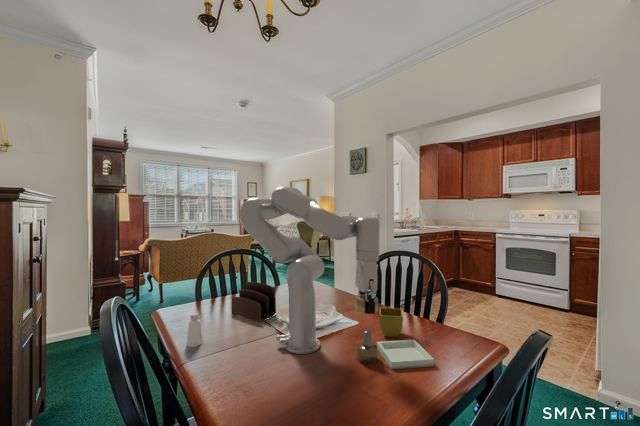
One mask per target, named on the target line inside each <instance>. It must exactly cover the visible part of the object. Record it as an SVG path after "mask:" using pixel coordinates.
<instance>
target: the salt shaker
mask: <svg viewBox="0 0 640 426" xmlns="http://www.w3.org/2000/svg"><path fill="white" fill-rule="evenodd" d="M189 317H190V320H189V321H188V327H187V336H186V346H188V348H195V346H196V347H199V346H201V345H202V342H203V334H202V327H201V326H202V325H201V320H200V319H199V313H198V312H193V313H191V314H190V316H189ZM198 345H199V346H198Z"/></svg>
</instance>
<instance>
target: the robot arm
mask: <svg viewBox="0 0 640 426" xmlns="http://www.w3.org/2000/svg"><path fill="white" fill-rule="evenodd" d="M287 214H289V215H290V216H293V217H295V218H297V219H299V220H300V221H303V222H304V223H305V224H306V225H308V227H310V228H312V229H313V230H314V231H317V232H318V233H320V234H322V235H325V236H326V237H328V238H330V239H333V240H335V241H344V240H347V239H351V238H355V260H356V265H355V278H354V279H355V283H354V284H355V286H356V288H358V295H359V294H365V296H366V301H365V313H364V314H365V315H374V314H375V313H376V312H375V296H376V295H377V291H378V264H377V263H378V261H380V227H381V226H380V220H379V219H378V218H376V217H372V216H371V217H369V216H367V217H366V216H365V217H363V216H362V217H357V216H352V215H350V216H349V215H345V216H344V215H340V216H339V215H337V214H334V213H332V212H331V211H328V210H326V209H324V208H323V207H321V206H320V205H319V204H318V201H317V200H316V199H314V198H312V197H311V196H308V195H305V194H303V193H302V191H301V190H299V189H298V188H296V187H289V186H279V187H277V188H275V189H274V190H273V192H272V193H271V196H270V198H269V197H267V198H266V197H252V198H249V199H246V200H245V201H244V202H243V203H242V204H241V207H240V211H239V218H240V221H241V222H240V223H241V224H242V227H243V228H244V230H245V231H246V233H248V234H249V235H250V236H251V238H253V239H254V240H255V241H256V242H257V243H258V245H260V247H261V248H262V249H263V250H264V251H265V252H266V253H267V254H268V255H269V256H270V257H271V258H272V259H273V260H274V261H275V262H276V263H278V264H281V265H283V264H287V263H289V262H290V263H289V265H288V267H287V269H286V281H287V288H288V331H287V333H285V334H277V335H276V342H277V341H278V342H279V344H284V348H285V350H286V351H287V352H289V353H291V354H296V355H306V354H311V353H314V352H316V351H317V350H319V348H320V346H321V341H320V340H319V338H317V337H316V336H317V335H316V331H317V330H316V325H317V324H316V311H317V310H316V304H317V303H316V302H317V301H316V292H315V286H314V281H315V280H317V279H319V278H320V277H322V276H323V274H324V272H325V264H324V261H323V259H322V258H321V257H320V255H318V253H317V252H316V251H315V250H314V249H312V248H311V246H309V244H307V242H306V241H304V240H303V239H302V238H301V237H298V236H295V235H289V236H285V235H284V234H282V233H281V231H279V230H278V229H277V228H276V227H275V226H274V225H273V224H272V223H270V222H268V220H274V219H276V218H279V217H281V216H283V215H287ZM266 220H267V221H266ZM368 294H370V295H369V297H368ZM376 297H377V296H376Z"/></svg>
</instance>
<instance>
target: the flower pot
mask: <svg viewBox="0 0 640 426" xmlns="http://www.w3.org/2000/svg"><path fill="white" fill-rule="evenodd" d="M403 322H404V314H403V309H402V308H392V307H379V323H380V329H381V332H382V335H383V336H384V337H389V338H398V337H399V336H400V334H401V333H402V329H403Z"/></svg>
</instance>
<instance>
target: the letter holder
mask: <svg viewBox="0 0 640 426" xmlns="http://www.w3.org/2000/svg"><path fill="white" fill-rule="evenodd" d="M245 284H246V285H245V288H246V289H240V290H239V291H238V293H239V294H238V296H232V297H231V314H233V313H234V315H236V314H237V315H236V316H239V315H240V317H243V318H246V319H250V320H252V321H255V322H259V323H262V322H265V321H266V320H265V319H267V318H270V317H272V316H273V315H274V314H275V313H276V314H277V303H276V301H277V300H276V288H275V287H274V286H271V285H269V284H266V283H263V282H257V281H247V282H246V283H245ZM272 318H273V317H272ZM270 319H271V318H270ZM267 320H268V319H267Z"/></svg>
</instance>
